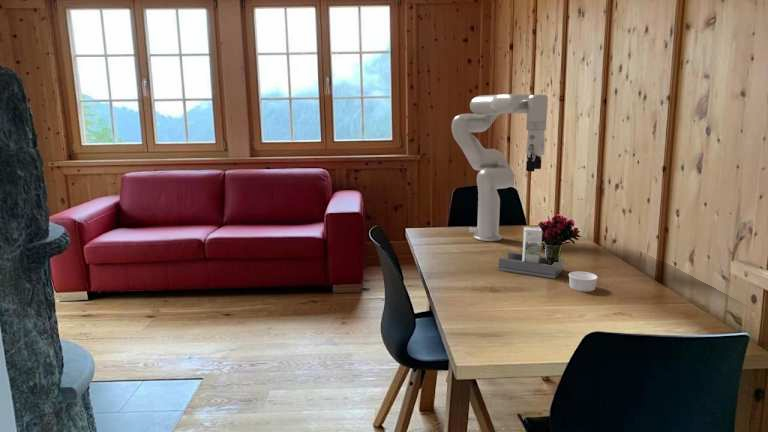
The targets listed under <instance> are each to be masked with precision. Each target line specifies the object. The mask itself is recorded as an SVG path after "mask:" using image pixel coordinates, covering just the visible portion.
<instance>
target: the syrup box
mask: <svg viewBox="0 0 768 432" xmlns="http://www.w3.org/2000/svg"><path fill="white" fill-rule="evenodd" d="M522 238H523V239H522V252H521V253H522V261H527V262H534V263H540V257H541V256H542V255H541V254H542V242H543V241H542V240H543V230H542V228H541V227H540V226H524V227H523V236H522Z"/></svg>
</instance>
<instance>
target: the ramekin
mask: <svg viewBox="0 0 768 432" xmlns="http://www.w3.org/2000/svg"><path fill="white" fill-rule="evenodd" d="M568 277H569V278H568V279H569V281H568V283H569V285H568V286H569V287H570V289H572V290H574V291H578V292H585V293H587V292H588V293H589V292H593V291H595V290H596V286H597V281H598V276H597V275H596V274H594V273H592V272H587V271H571V272H569V273H568Z"/></svg>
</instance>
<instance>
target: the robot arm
mask: <svg viewBox="0 0 768 432" xmlns="http://www.w3.org/2000/svg"><path fill="white" fill-rule="evenodd" d="M548 100H549V98H548V95H545V94H525V93H523V94H522V93H508V94H488V95H487V94H485V95H482V94H481V95H477V96H475V97H474V98H472V99H471V100H470V103H469V108H470V111H471V112H472V113H462V114H458V115H456V116H455V117H454V118H453V119H452V121H451V133H452V135H453V136H452V137H453V139H454V140H455V141H456V144H458V146H459V147H460V149H461V150H462V152H463V154H464V155H465V158H466V159H467V161H468V162H469V164H470V166H471V167H472V168H473V170H475V171H478V173H477V175H476V186H477V192H478V193H477V198H478V200H477V226H476V227H471V226H469V228H468V232H469V233H474V234H473V239H475V240H478V241H483V242H498V241H501V240H502V239H503V236H502V235H501V234H500V233H499V231H500V230H499V227H500V213H501V212H500V208H501V207H500V206H501V198H500V195H499V193H498V190H501V189H507V188H510V187H512V186H513V185H514V184H515V173H514V171H513V169H512V168H511V166H510V164H509V163H508V161H507V159H506V157H505V156H504V154H503V153H502V151H500V150H498V149H495V148H484V146H483V145H482V144H481V142H480V140H479V139H478V138H477V137H476V136H475V135H474V134H472V133H483V132H485V131H487V130H488V129H489V128H490V127H491V126H492V124H493V122H494V121H495V120H496V119H497V117H498V116H501V115H502V114H526V124H525V125H526V129H525V130H526V131H528V132H527V139H526V162H525V163H526V164H525V165H526V166H525V171H526V172H535V170H541V169H542V158H543V157H542V156H544V154H545V143H546V142H545V141H546V140H545V139H546V138H545V135H546V134H545V131H547V120H548V119H547V118H548V105H549V103H548V102H549V101H548Z"/></svg>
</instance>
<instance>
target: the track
mask: <svg viewBox="0 0 768 432" xmlns="http://www.w3.org/2000/svg"><path fill="white" fill-rule="evenodd" d="M546 257H547V256H543V255H541V257H540V263H534V262H527V261H522V252H514V251H508V252H507V257H506V258H505V257H500V258H499V259H498V267H497V270H498V271H503V272H508V273H514V274H515V273H516V274H523V275H527V276H534V277H542V278H546V279H547V278H548V279H556V278H557V277H558V275H559V274H560V273H561V272H562V271H563V270H564V259H563V258H559V262H554V263H553V264H552V265H548V264H547V262H546Z"/></svg>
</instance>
